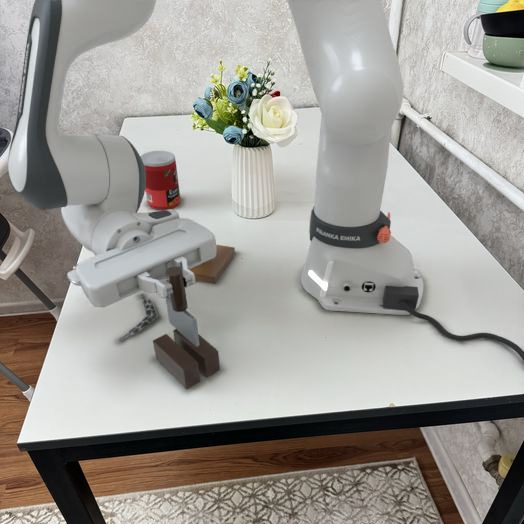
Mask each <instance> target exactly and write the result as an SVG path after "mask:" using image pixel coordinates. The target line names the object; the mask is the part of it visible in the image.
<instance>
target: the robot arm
mask: <svg viewBox="0 0 524 524" xmlns="http://www.w3.org/2000/svg"><path fill="white" fill-rule="evenodd" d="M156 2H157V0H34V3H33V6H32V9H31V10H32V11H31V14H30V19H29V24H28V29H27V37H26V44H25V49H24V50H25V51H24V57H23V59H24V60H23V67H22V74H21V83H20V90H19V92H20V93H19V98H18V106H17V114H16V120H15V121H16V122H15V126H14V129H13V130H14V131H13V133H12V138H11V141H10V145H9V151H8V158H7V160H8V162H7V163H8V164H7V166H8V167H7V168H8V175H9V180H10V184H11V186H12V188H13V190H14V192H15V193H16V194H17V195H18V196H19V197H20V198H22V199H23V200H24V201H26V202H27V203H28V204H30V205H31V206H33V207H35V208H37V209H38V210H41V211H46V210H55V209H60V208H61V211H60V212H61V216H62V220H63V222H64V224H65V226H66V227H67V230H68V231H69V232H70V234H71V235H72V236H73V237H74V239H75V240H76V241H77V242H78V243H79V244H80V245H81V246H83V247H84V248H85V249H86V250H88V251H89V252H91V253H92V254H93V256H92V257H89V258H87V259H84V260H82V261H81V262H79V263H77V264H75V265H73V266H72V269H70V270H69V271H68V272H67V273H66V274H67V277H66V278H67V279H68V280H69V281H70V282H71V284H73V285H74V286H78V287H81V290H82V292H83V294H84V295H85V297H86V299H87V300H88V301H89V303H90V304H91V305H92V306H93V307H95V308H102V309H103V308H106V307H109V306H110V305H113V304H115V303H118V302H120V301H123V300H124V299H126V298H128V297H131V296H133V295H135V294H138V293H139V292H143V293H149V294H156V295H159V296H160V297H161V298H163V299H165V297H167V296H170V295H171V294H173V290H172V288H173V287H172V284H171V283H170V282H168V281H167V277H166V270H167V269H168V268H170V267H180V268H181V269H182V271H183V277H184V284H185V288H188V287H190V286H192V285H195V284H196V282H197V280H195V275H194V273H193V272H192V271H190V270H189V269H191V268H193V267H195V266H197V265H199V264H202V263H204V262H206V261H208V260H211V259H213V258H215V256H216V245H217V239H216V235H215V234H214V232H212V231H211V230H210V229H209V228H207V227H205V226H203V225H202V224H200V223H198V222H196V221H194V220H193V219H190V218H187V217H180V214H179V212H178V210H176V209H174V208H172V209H167V210H157V211H150V212H149V211H148V212H139V210H140V208H141V204H142V201H143V199H144V196H145V194H146V192H145V187H146V171H145V166H144V163H143V161H142V159H141V157H140V156H141V155H140V153H139V152H138V149H136V147H135V146H134V144H133V143H132V142H130V140H128V139H127V138H126V137H125V136H123V135H115V134H95V133H90V134H81V133H60V132H59V133H58V129H59V123H60V115H61V110H62V103H63V97H64V96H63V95H64V91H65V85H66V79H67V74H68V71H69V69H70V67H71V66H72V64H73V63H74V62H75V61H76V59H78V58H79V57H80V56H81V55H83V54H85V53H86V52H89V51H90V50H93V49H95V48H98V47H101V46H105V45H109V44H112V43H116V42H119V41H121V40H124V39H127V38H128V37H131V36H132V35H134V34H135V33H137V32H139V30H141V29H142V28H143V27H144V26H145V25H146V24H147V23H148V21H149V20H150V18H151V17H152V15H153V13H154V10H155V6H156ZM286 2H287V4H288V7H289V10H290V12H291V15H292V18H293V22H294V26H295V28H296V32H297V37H298V39H299V44H300V48H301V51H302V55H303V59H304V62H305V66H306V69H307V71H308V72H307V73H308V76H309V79H310V82H311V85H312V88H313V92H314V95H315V99H316V102H317V105H318V108H319V111H320V114H321V116H320V127H319V137H318V138H319V139H318V149H317V160H316V170H315V171H316V172H315V189H314V201H313V202H314V203H313V208H312V209H311V211H310V216H309V226H308V228H309V229H308V234H309V241H310V242H309V249H308V253H307V258H306V260H305V261H306V262H305V264H304V267H303V270H302V272H301V275H300V285H301V286H302V289H304V290H305V292H306V293H308V294H309V295H311V296H312V297H313V298H315V299H316V300H317V301H318V303H319V304H320V306H321V307H322V308H323V309H324V310H326V311H331V312H333V311H335V312H349V313H365V314H381V315H398V316H409V315H412V316H413V317H414V318H417V319H421V320H424V321H426V322H428V323H430V324H431V325H432V326H434V327H435V328H436V329H437V330H438V331H439V333H440V334H441V335H442V336H444V337H445V338H448V339H450V340H452V341H453V340H454V341H457V342H466V341H467V342H468V341H473V340H477V339H490V340H493V341H496V342H499V343H502V344H503V345H505V346H507V347H509V348H510V349H512V350H513V351H515V352H516V353H517V355H518V356H519V357H520V358H521V359H522V362H524V349H522V347H520V346H519V345H518V344H516V343H515V342H513V341H511V340H510V339H508V338H505V337H502V336H500V335H497V334H494V333H491V332H477V333H472V334H471V333H470V334H466V335H458V334H454V333H452V332H449V331H448V330H446V329H445V327H444V326H443V325H442V324H441V323H440V322H439V321H438V320H437V319H435V318H434V317H432V316H430V315H428V314H425V313H421V312H419V311H416V310H417V309H418V308H419V307H420V305H421V303H422V300H423V295H424V280H423V277H422V275H421V273H420V272H419V271H418V270H417V269H415V265H414V259H413V255H412V253H411V251H410V250H409V249H408V247H406V246H405V245H404V244H403V243H402V242H400V241H399V240H398V239H396V238H395V236H393V235H392V231H391V225H392V224H391V223H392V220H391V212H389V211H388V214H386V215H385V213H384V212H383V211H382V210H381V208H382V204H383V203H382V202H383V196H384V191H385V185H386V179H387V172H388V165H389V153H390V145H391V135H392V127H393V125H394V123H395V122H396V120H397V117H398V115H399V113H400V111H401V108H402V105H403V100H404V82H403V77H402V73H401V72H402V71H401V67H400V63H399V57H398V54H397V51H396V50H395V47H394V44H393V40H392V37H391V36H392V35H391V33H390V28H389V24H388V21H387V18H386V13H385V9H384V5H383V1H382V0H286Z"/></svg>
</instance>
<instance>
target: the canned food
mask: <svg viewBox="0 0 524 524" xmlns="http://www.w3.org/2000/svg"><path fill="white" fill-rule="evenodd" d="M140 157H141V159H142V161H143V163H144V166H145V171H146V187H145V196H146V202H147V204H148V206H149V207H150V208H152V209H154V210H157V211H163V210H168V209H174V208H176V207H178V206H179V205H180V203H181V192H180V184H179V176H178V170H177V169H178V168H177V161H176V156H175V154H174V153H173V152H170V151H166V150H152V151H147V152H144V153H142V154H141V155H140Z"/></svg>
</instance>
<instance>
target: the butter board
mask: <svg viewBox="0 0 524 524" xmlns="http://www.w3.org/2000/svg"><path fill="white" fill-rule="evenodd" d="M235 255H236V248H235V247H233V246H229V245H220V244H216V256H215V258H213V259H211V260H208V261H206V262H204V263H202V264H199V265H197V266H195V267H193V268H191V269H189V270H190V271H192V272H193V273H194V275H195V281H196V282H197V281H198V282H203V283H210V284H214V285H216V283H217V282H218V280H219V279H220V277H221V276H222V274H223V273H224V271H225V270H226V268H227V267H228V265H229V264H230V263H231V261H232V259H233V258H234V257H235Z"/></svg>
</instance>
